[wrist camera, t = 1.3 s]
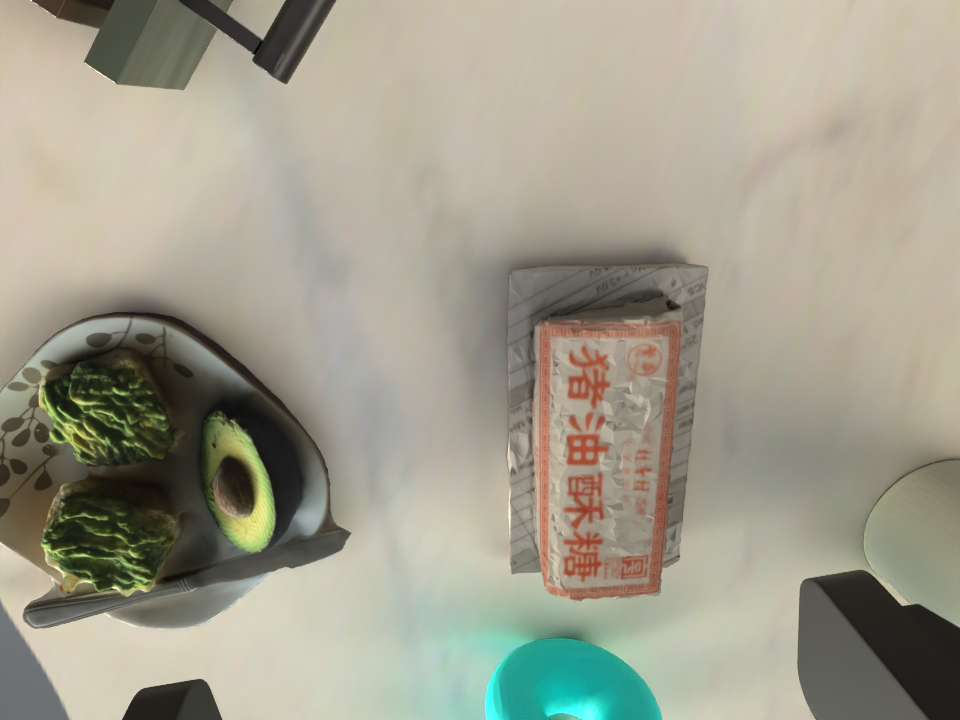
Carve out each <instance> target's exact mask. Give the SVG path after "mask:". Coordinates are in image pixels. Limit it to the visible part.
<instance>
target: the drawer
mask: <svg viewBox="0 0 960 720" xmlns="http://www.w3.org/2000/svg"><path fill="white" fill-rule="evenodd" d="M30 1H32V2H33V3H35V4H36V5H37V6H39V7H40V8H42V9H43V10H45V11H46V12H48V13H49V14H51V15H52V16H54V17H55V18H58V19H62V20H66V21H70V22H74V23H78V24H82V25H86V26H90V27H94V28H98V29H100V31H99V33H98V35H97V37H96V39H95V41H94V43H93V45H92V47H91V49H90V51H89V53H88V55H87V57H86V59H85V61H84V63H85V64H86V65H88V66H89V67H91V68H92V69H94V70H95V71H97V72H98V73H100V74H101V75H103V76H104V77H106V78H107V79H109V80H110V81H112V82H113V83H115V84H118V85H130V86H142V87H153V88H165V89H177V90H184V89H185V87H186V85H187V84H188V82H189V80H190V78H191V76H192V74H193V73H194V71H195V69H196V67H197V65H198V63H199V62H200V60H201V58H202V56H203V54H204V52H205V51H206V49H207V47H208V45H209V43H210V41H211V40H212V38H213V36H214V34H215V32H216V30H217V29H218V30H219V31H221V32H222V33H223V34H225V35H226V36H228V37H229V38H230V39H232V40H233V41H235V42H236V43H237V44H239V45H240V46H242V47H243V48H244V49H246V50H247V51H248V52H250V53H251V54H253V55H254V57H253V59H252V61H253V62H254V63H255V64H256V65H257V66H258V67H260V68H261V69H262V70H264V71H265V72H267V73H268V74H269V75H271V76H272V77H274V78H275V79H277V80H279V81H280V82H282V83H284V84H287V83H288V82H289V80H290V78H291V77H292V75H293V73H294V72H295V70H296V68H297V66H298V65H299V63H300V61H301V60H302V58H303V56H304V55H305V53H306V51H307V49H308V48H309V46H310V44H311V43H312V41H313V39H314V37H315V36H316V34H317V32H318V31H319V29H320V27H321V26H322V24H323V22H324V20H325V19H326V17H327V15H328V14H329V12H330V10H331V9H332V7H333V5H334V3H335V2H336V0H286V1H285V2H284V4H283V6H282V8H281V9H280V11H279V13H278V15H277V17H276V18H275V20H274V22H273V24H272V25H271V27H270V29H269V31H268V32H267V34H266V36H265V38H264V39H263V40H262V39H261V38H260V37H258V36H257V35H255V34H254V33H253V32H251V31H250V30H249V29H247V28H246V27H244V26H243V25H242V24H240V23H239V22H238V21H236V20H235V19H233V18H232V17H231V16H229V15H228V14H227V13H226V12H227V10H228V8H229V7H230V5H231V3H232V1H233V0H30Z"/></svg>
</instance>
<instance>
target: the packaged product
mask: <svg viewBox="0 0 960 720" xmlns="http://www.w3.org/2000/svg"><path fill="white" fill-rule="evenodd" d="M707 278H708V267H707V266H700V265H693V264H679V263H667V264H649V265H630V266H545V267H535V268H525V269H515V270H509V296H508V331H507V354H508V376H509V418H510V428H509V442H508V455H507V460H508V468H509V476H510V490H509V531H510V543H511V554H510V573H511V574H515V573H535V572H542V575H543V579H544V586H545V588H546V590H547V591H548V592H549V593H550V594H553V595H557V596H561V597H566V598H569V599H571V600H573V601H582V600H583V599H586V598H591V599H599V598H612V597H613V598H616V599H619V598H631V597H640V596H659V594H660V593H661V588H660V586H661V578H660V577H661V573H662V568H663V567H665V568H667V567H669V566H670V565H672V564H674V563H676V562H677V561H679V560H680V550H679V545H680V542H681V536H680V535H681V529H682V522H683V509H684V499H685V485H686V481H687V469H688V457H689V452H690V446H691V429H692V424H693V412H694V400H695V392H696V376H697V370H698V364H699V356H700V347H701V335H702V327H703V316H704V308H705V293H706V283H707Z"/></svg>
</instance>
